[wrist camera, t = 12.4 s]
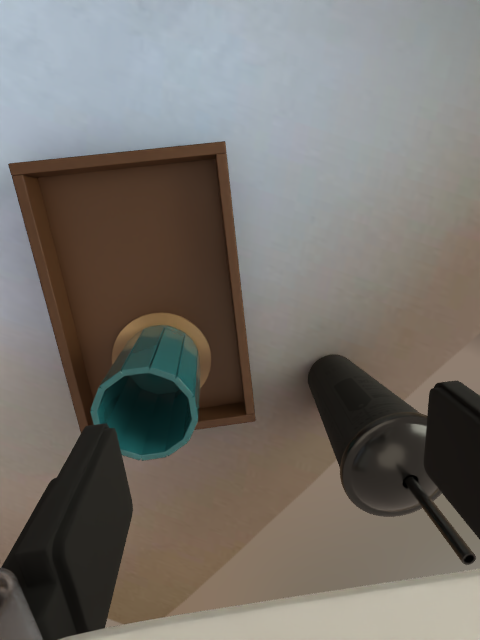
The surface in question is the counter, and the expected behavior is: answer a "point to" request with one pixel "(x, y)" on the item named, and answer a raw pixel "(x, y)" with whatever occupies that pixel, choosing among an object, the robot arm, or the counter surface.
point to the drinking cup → (378, 445)
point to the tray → (139, 262)
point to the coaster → (171, 321)
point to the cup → (151, 393)
